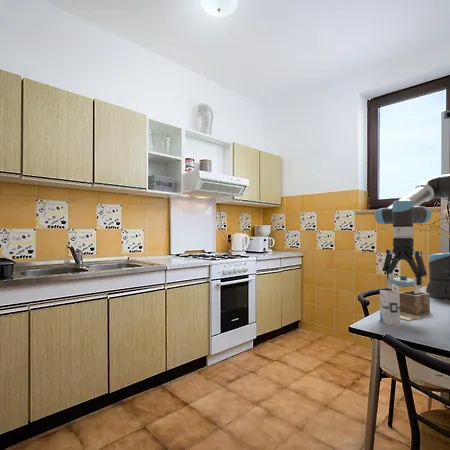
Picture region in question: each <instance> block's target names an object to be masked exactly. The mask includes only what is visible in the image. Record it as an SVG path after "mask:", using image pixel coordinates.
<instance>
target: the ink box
mask: <svg viewBox="0 0 450 450" xmlns="http://www.w3.org/2000/svg"><path fill="white" fill-rule="evenodd" d="M399 292H400V286H397V285H395V284H393V283H392V289H391V290H389V289H387V290H386V289H385V290H384V289H380V290H379V316H380V317H379V318H380V320H381V321H382V322H383V323H384V324H385V325H386V326H398V327H400V326H401V319H400V312H401V311H400V295H399Z"/></svg>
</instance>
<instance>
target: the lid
mask: <svg viewBox="0 0 450 450" xmlns="http://www.w3.org/2000/svg"><path fill="white" fill-rule="evenodd" d="M384 282H385V283H389V282H390V283H393V284H395V285H397V286H399V288H400V287H401V288H410V287H414V278H408V276H407V275H402V274H400V276H397V277H394V278H388V279H387V278H384ZM422 284H424V280H422Z"/></svg>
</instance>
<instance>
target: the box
mask: <svg viewBox="0 0 450 450" xmlns="http://www.w3.org/2000/svg"><path fill="white" fill-rule="evenodd" d="M399 295H400V312H404V313H408V314H412V315H416V316H419V315H423V314H427V313H431V302H430V300H431V299H430V297H431V296H430V294H429V293H426V292H422V291H420V293H417V294H414V290H407V291H399Z"/></svg>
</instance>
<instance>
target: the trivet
mask: <svg viewBox="0 0 450 450" xmlns="http://www.w3.org/2000/svg"><path fill="white" fill-rule="evenodd" d="M418 319H423V316H419V315H414V314H410V313H405V312H401V311H400V320H404V321H408V322H411V321H414V320H418Z"/></svg>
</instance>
